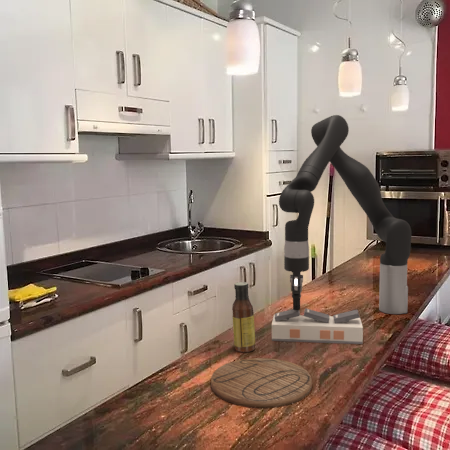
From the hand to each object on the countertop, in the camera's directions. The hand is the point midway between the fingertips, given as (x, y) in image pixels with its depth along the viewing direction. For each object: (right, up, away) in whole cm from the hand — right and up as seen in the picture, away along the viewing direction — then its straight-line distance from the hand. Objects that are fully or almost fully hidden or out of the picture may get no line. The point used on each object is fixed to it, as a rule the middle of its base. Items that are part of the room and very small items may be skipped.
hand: (296, 309), depth 162 cm
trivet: (-13, -14, -32) cm, 37 cm away
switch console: (+6, -8, 0) cm, 10 cm away
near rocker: (+15, -3, -2) cm, 16 cm away
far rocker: (-3, -3, +1) cm, 4 cm away
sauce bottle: (-17, -10, -9) cm, 22 cm away
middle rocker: (+6, -3, -1) cm, 6 cm away
